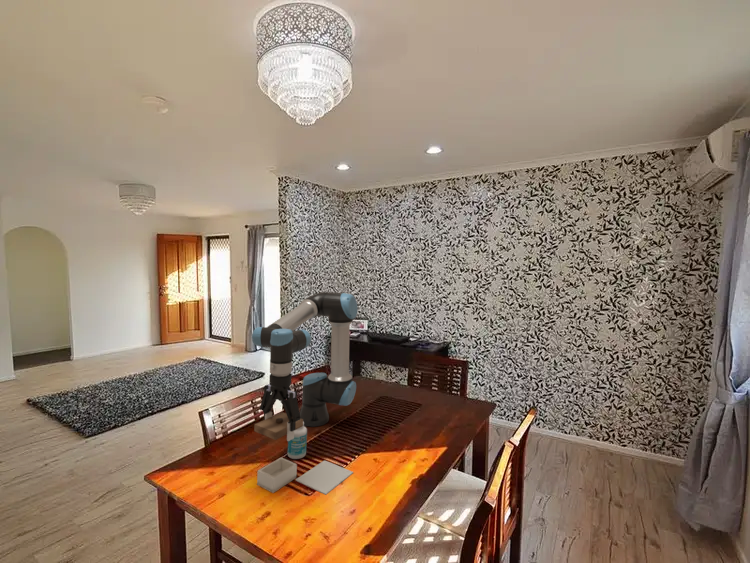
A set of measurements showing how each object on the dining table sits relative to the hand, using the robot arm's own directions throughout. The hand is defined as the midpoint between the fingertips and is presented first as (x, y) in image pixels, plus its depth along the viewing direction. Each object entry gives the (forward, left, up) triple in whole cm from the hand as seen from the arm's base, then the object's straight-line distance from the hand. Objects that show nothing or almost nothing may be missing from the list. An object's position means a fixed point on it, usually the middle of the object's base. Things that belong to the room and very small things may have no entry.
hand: (279, 434), depth 128 cm
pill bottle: (-7, +17, -17) cm, 25 cm away
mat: (+12, +12, -17) cm, 24 cm away
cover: (0, 0, +2) cm, 2 cm away
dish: (0, 0, -17) cm, 17 cm away
